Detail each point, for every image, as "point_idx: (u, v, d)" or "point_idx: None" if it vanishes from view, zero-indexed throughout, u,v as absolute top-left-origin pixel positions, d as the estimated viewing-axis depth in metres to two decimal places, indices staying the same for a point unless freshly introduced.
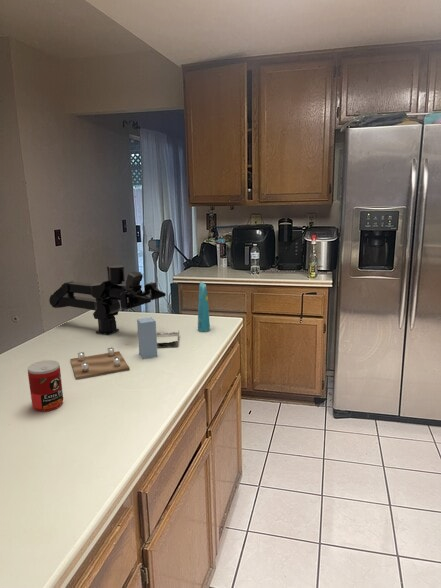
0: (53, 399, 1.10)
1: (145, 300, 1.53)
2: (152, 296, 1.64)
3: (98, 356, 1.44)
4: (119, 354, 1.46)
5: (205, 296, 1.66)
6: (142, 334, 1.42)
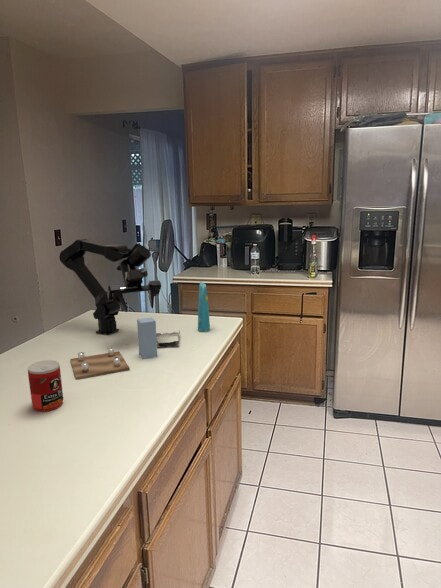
0: (53, 399, 1.10)
1: (123, 307, 1.50)
2: (149, 294, 1.57)
3: (98, 356, 1.44)
4: (119, 354, 1.46)
5: (205, 296, 1.66)
6: (142, 334, 1.42)
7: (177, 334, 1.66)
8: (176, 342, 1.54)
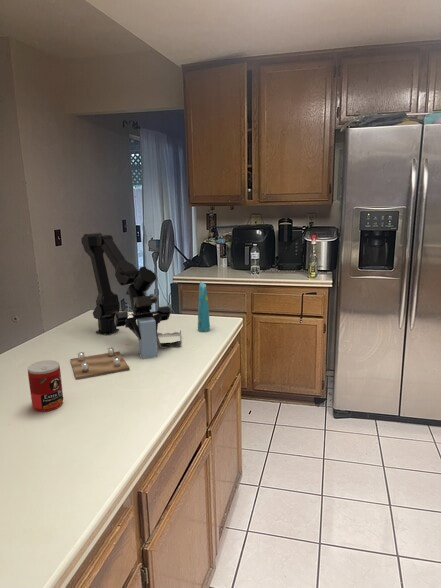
0: (53, 399, 1.10)
1: (137, 334, 1.44)
2: None
3: (98, 356, 1.44)
4: (119, 354, 1.46)
5: (205, 296, 1.66)
6: (142, 334, 1.42)
7: (178, 334, 1.66)
8: (178, 342, 1.54)
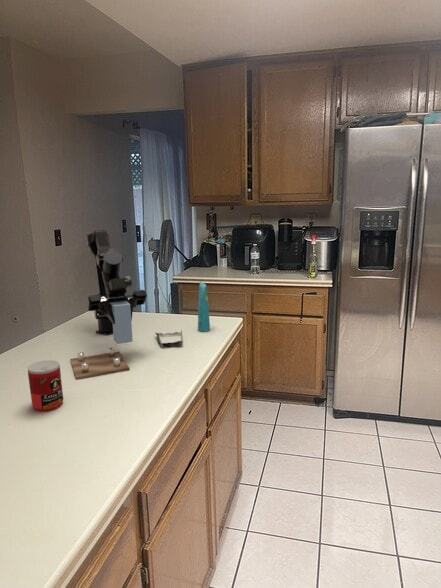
0: (53, 399, 1.10)
1: (111, 318, 1.38)
2: None
3: (98, 356, 1.44)
4: (119, 354, 1.46)
5: (205, 296, 1.66)
6: (116, 318, 1.36)
7: (179, 334, 1.66)
8: (180, 342, 1.54)
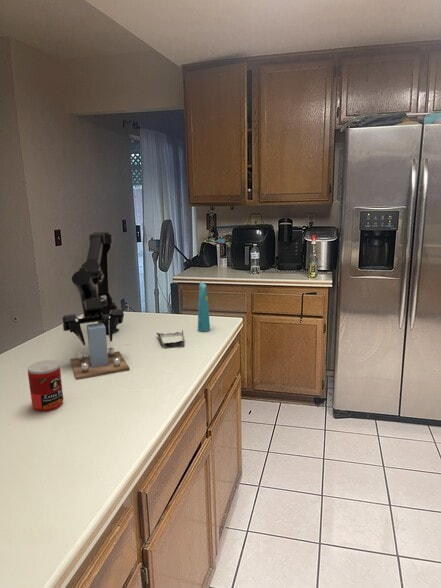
0: (53, 399, 1.10)
1: (81, 339, 1.34)
2: (108, 325, 1.41)
3: None
4: (119, 354, 1.46)
5: (205, 296, 1.66)
6: (91, 341, 1.33)
7: (180, 334, 1.66)
8: (182, 342, 1.54)
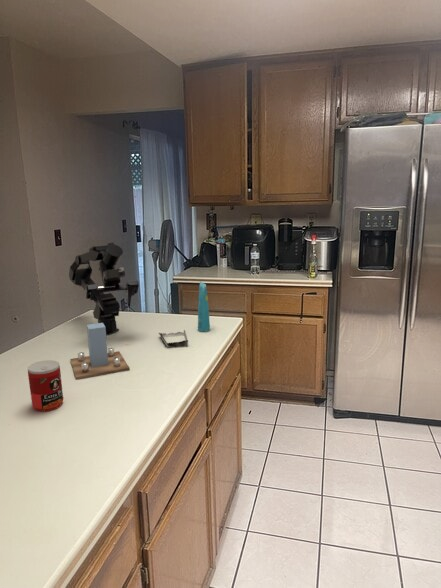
0: (53, 399, 1.10)
1: (100, 306, 1.53)
2: (126, 294, 1.60)
3: None
4: (119, 354, 1.46)
5: (205, 296, 1.66)
6: (91, 341, 1.33)
7: (182, 334, 1.66)
8: (185, 341, 1.54)
